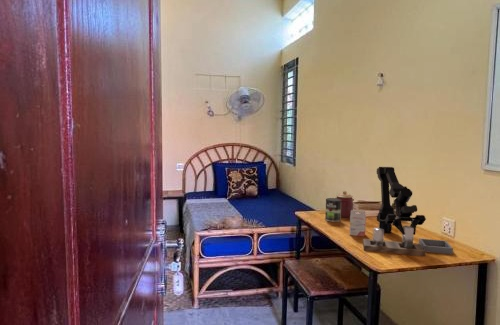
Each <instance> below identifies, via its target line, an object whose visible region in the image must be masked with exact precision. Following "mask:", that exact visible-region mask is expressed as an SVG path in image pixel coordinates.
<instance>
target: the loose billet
mask: <svg viewBox="0 0 500 325" xmlns="http://www.w3.org/2000/svg"><path fill="white" fill-rule="evenodd" d="M402 227H403V230H404V235H403V234H402V233H401V234H402V236H401V242H402V246H403V247H405V248H412V247H413V243H414V227H412V226H410V225H402Z"/></svg>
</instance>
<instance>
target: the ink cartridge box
mask: <svg viewBox="0 0 500 325" xmlns="http://www.w3.org/2000/svg"><path fill="white" fill-rule="evenodd" d="M366 218H367V217H366V211H365V210H355V209H353V210H351V215H350V217H349V236H356V237H365V236H366Z"/></svg>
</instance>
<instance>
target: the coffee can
mask: <svg viewBox="0 0 500 325" xmlns="http://www.w3.org/2000/svg"><path fill="white" fill-rule="evenodd" d="M341 201H342V200H341V199H337V198H336V197H335V198H334V197H326V198H325V215H324V216H325V217H324V220H325V221H327V222H331V223H332V222H337V223H338V222H340V221H341V218H342V217H341Z"/></svg>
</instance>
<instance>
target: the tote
mask: <svg viewBox="0 0 500 325" xmlns="http://www.w3.org/2000/svg"><path fill="white" fill-rule="evenodd" d="M418 244H421V246H422V247H423V249H424V251H425V253H433V254H436V253H437V254H443V255H453V254H454V248H453V247H452V246H451V245H450V243H449V242H448V241H447V240H443V239H430V238H429V239H428V238H418Z"/></svg>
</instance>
